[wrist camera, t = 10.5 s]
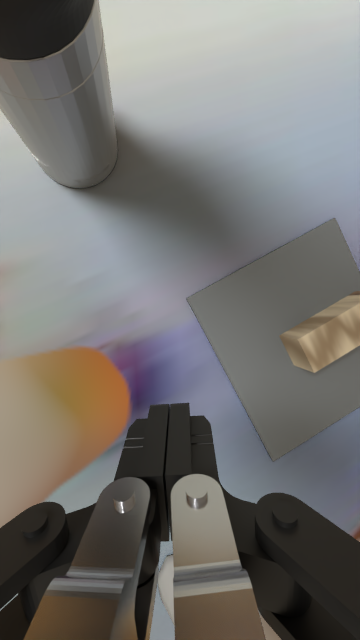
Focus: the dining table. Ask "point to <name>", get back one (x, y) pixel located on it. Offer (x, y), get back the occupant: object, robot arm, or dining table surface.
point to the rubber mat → (273, 320)
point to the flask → (167, 585)
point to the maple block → (325, 335)
